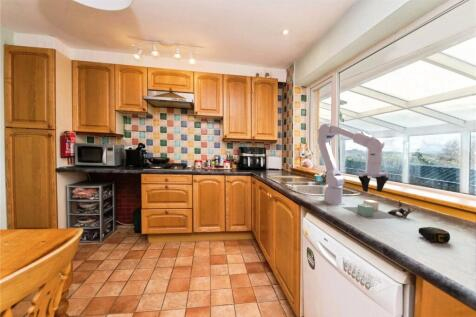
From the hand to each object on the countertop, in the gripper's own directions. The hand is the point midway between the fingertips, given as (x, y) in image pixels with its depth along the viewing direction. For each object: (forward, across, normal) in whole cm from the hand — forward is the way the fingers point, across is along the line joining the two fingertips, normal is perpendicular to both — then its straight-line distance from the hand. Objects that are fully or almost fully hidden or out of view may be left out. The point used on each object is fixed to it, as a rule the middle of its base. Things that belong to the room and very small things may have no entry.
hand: (372, 191), depth 103 cm
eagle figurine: (+10, +9, -7) cm, 15 cm away
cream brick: (+10, +2, +3) cm, 10 cm away
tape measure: (+10, -5, -32) cm, 34 cm away
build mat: (+10, -3, -2) cm, 11 cm away
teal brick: (+10, -8, -5) cm, 13 cm away
